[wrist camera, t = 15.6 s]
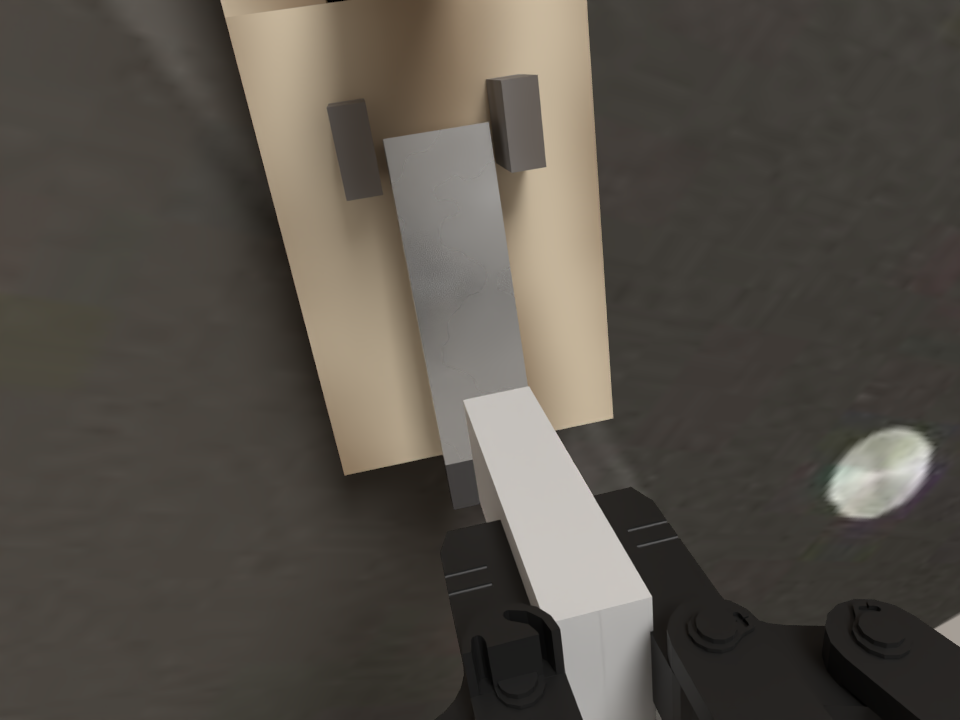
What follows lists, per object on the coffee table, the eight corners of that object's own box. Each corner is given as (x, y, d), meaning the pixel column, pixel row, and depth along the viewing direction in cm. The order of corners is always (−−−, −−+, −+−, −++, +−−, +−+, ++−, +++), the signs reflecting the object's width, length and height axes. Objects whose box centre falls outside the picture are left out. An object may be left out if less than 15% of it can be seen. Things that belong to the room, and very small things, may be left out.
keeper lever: (450, 496, 23) (454, 509, 22) (382, 140, 20) (383, 139, 19) (535, 477, 23) (543, 490, 22) (483, 124, 20) (488, 121, 19)
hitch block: (345, 411, 29) (344, 511, 22) (180, -251, 20) (97, -408, 13) (572, 365, 30) (635, 448, 23) (515, -284, 21) (592, -445, 14)
